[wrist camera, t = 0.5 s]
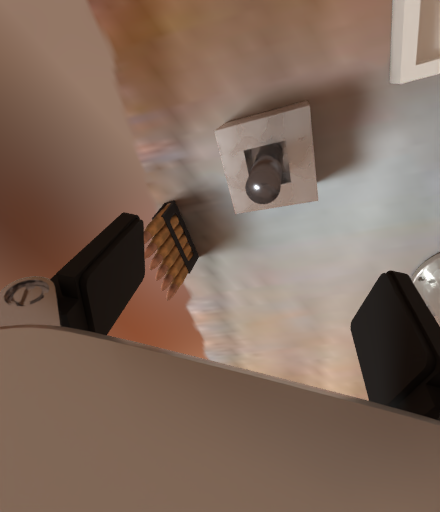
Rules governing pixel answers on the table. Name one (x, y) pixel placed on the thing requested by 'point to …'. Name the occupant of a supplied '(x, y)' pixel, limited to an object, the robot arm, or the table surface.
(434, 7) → the tray
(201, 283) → the table surface
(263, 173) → the pin
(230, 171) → the block
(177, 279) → the ammunition clip
